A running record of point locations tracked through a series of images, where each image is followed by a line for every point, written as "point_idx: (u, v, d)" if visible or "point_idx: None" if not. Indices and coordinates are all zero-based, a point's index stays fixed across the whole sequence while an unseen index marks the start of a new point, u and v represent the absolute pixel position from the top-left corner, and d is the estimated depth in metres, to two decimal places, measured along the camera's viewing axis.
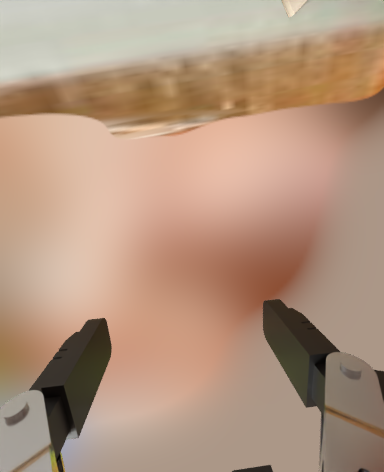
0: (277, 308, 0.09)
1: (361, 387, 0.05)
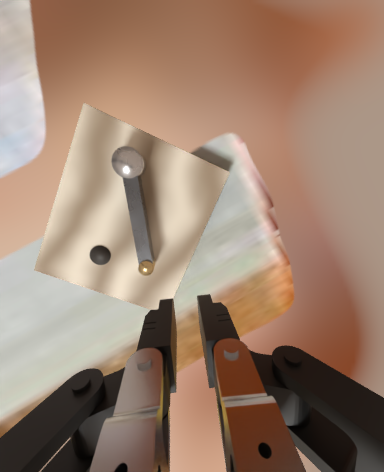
0: (203, 302, 0.10)
1: (229, 365, 0.06)
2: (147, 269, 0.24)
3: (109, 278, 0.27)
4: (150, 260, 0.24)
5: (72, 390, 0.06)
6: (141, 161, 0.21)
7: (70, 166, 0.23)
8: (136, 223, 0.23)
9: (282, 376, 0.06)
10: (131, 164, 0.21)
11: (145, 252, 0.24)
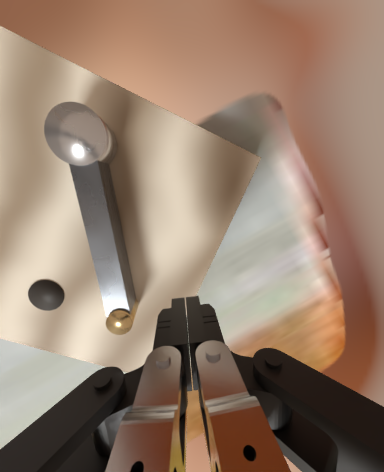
0: (190, 303, 0.10)
1: (209, 368, 0.06)
2: (121, 324, 0.14)
3: (64, 330, 0.17)
4: (126, 309, 0.14)
5: (94, 387, 0.06)
6: (103, 132, 0.11)
7: None
8: (100, 248, 0.13)
9: (264, 381, 0.06)
10: (84, 138, 0.11)
11: (117, 296, 0.14)
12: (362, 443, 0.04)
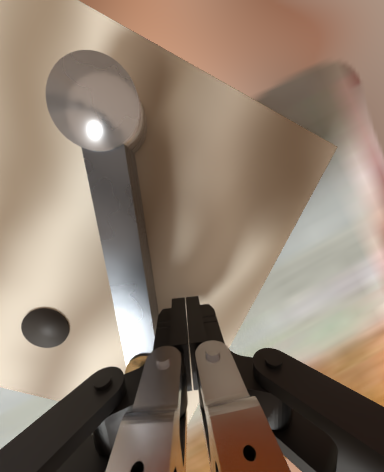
0: (190, 303, 0.10)
1: (209, 368, 0.06)
2: None
3: (68, 372, 0.13)
4: None
5: (94, 387, 0.06)
6: (135, 101, 0.07)
7: None
8: (122, 271, 0.09)
9: (263, 381, 0.06)
10: (106, 109, 0.07)
11: (142, 337, 0.10)
12: (362, 443, 0.04)
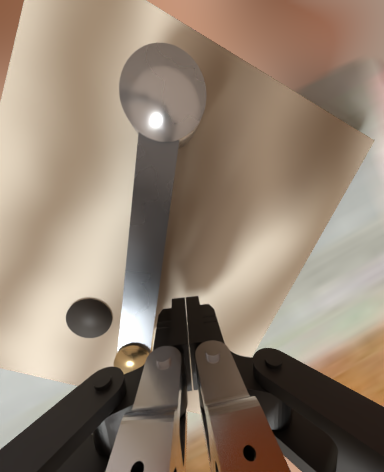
0: (190, 303, 0.10)
1: (209, 368, 0.06)
2: (135, 366, 0.10)
3: (109, 362, 0.13)
4: (148, 346, 0.10)
5: (94, 387, 0.06)
6: (202, 105, 0.08)
7: (12, 116, 0.09)
8: (141, 259, 0.09)
9: (263, 381, 0.06)
10: (174, 104, 0.08)
11: (141, 327, 0.10)
12: (362, 443, 0.04)
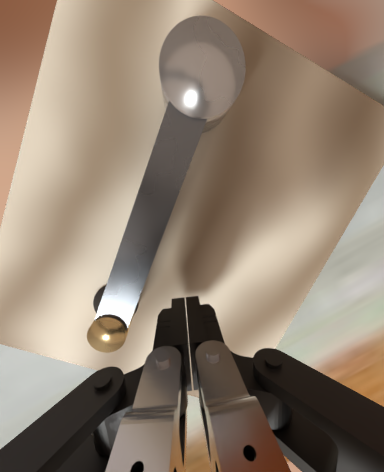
0: (190, 303, 0.10)
1: (210, 368, 0.06)
2: (108, 339, 0.10)
3: (134, 348, 0.13)
4: (126, 322, 0.10)
5: (94, 387, 0.06)
6: (238, 89, 0.08)
7: (46, 99, 0.10)
8: (141, 230, 0.09)
9: (264, 380, 0.06)
10: (210, 81, 0.08)
11: (124, 301, 0.10)
12: (362, 443, 0.04)
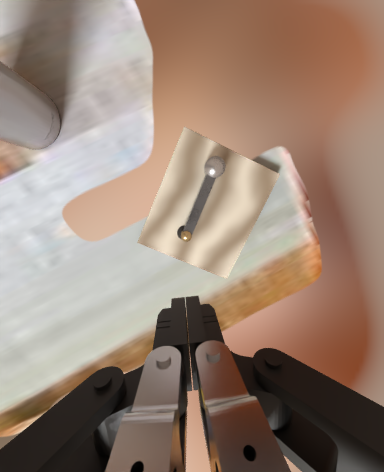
0: (190, 303, 0.10)
1: (209, 368, 0.06)
2: (186, 237, 0.34)
3: (189, 250, 0.37)
4: (191, 233, 0.34)
5: (93, 387, 0.06)
6: (223, 171, 0.32)
7: (170, 169, 0.34)
8: (198, 205, 0.33)
9: (264, 380, 0.06)
10: (217, 169, 0.32)
11: (192, 226, 0.34)
12: (362, 443, 0.04)
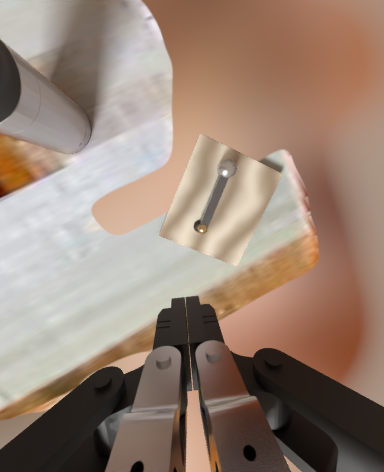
0: (190, 303, 0.10)
1: (209, 368, 0.06)
2: (203, 230, 0.39)
3: (203, 241, 0.42)
4: (207, 226, 0.39)
5: (94, 387, 0.06)
6: (235, 172, 0.37)
7: (188, 170, 0.39)
8: (213, 202, 0.38)
9: (264, 380, 0.06)
10: (229, 170, 0.37)
11: (207, 220, 0.39)
12: (362, 443, 0.04)
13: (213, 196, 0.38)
